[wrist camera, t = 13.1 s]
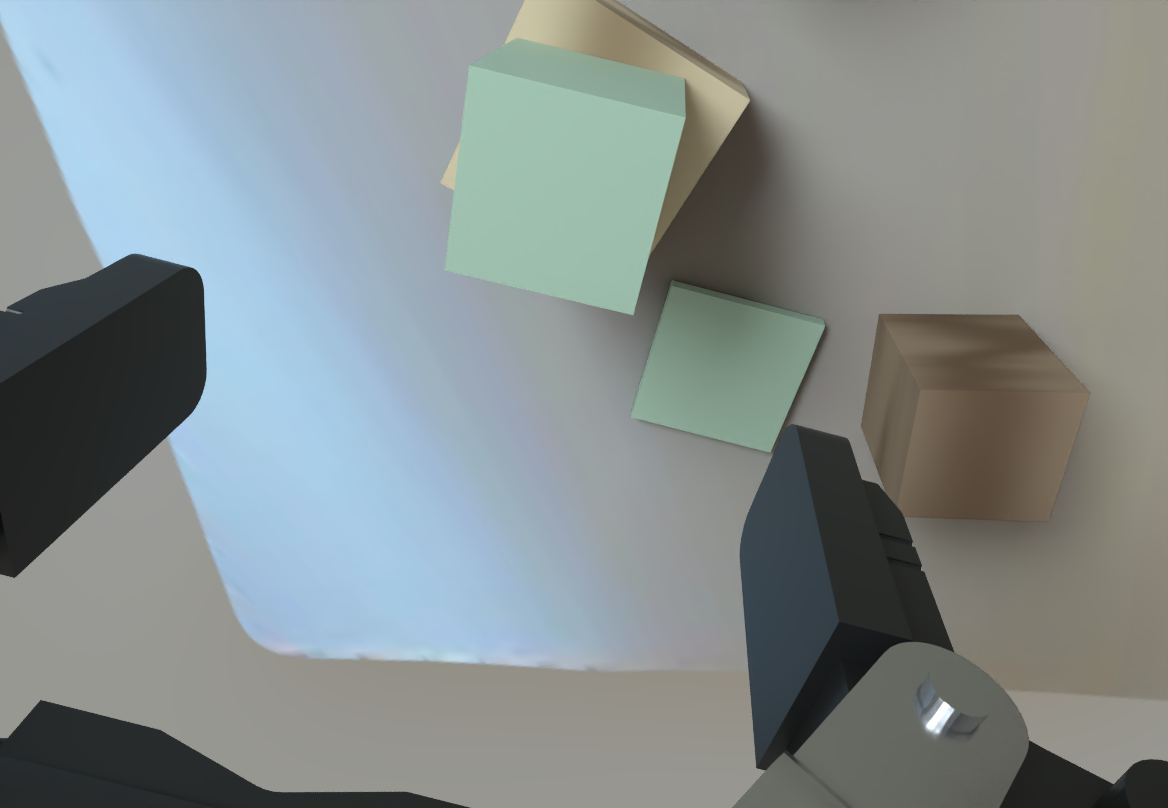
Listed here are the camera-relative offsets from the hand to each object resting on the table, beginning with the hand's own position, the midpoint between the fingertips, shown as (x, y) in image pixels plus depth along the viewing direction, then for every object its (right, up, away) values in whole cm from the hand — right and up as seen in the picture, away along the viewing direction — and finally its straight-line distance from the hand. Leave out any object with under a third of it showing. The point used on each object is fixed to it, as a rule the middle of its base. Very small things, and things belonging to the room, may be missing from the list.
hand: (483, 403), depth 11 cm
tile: (+7, +1, +21) cm, 22 cm away
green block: (+1, +8, +13) cm, 16 cm away
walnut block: (+15, +1, +20) cm, 25 cm away
